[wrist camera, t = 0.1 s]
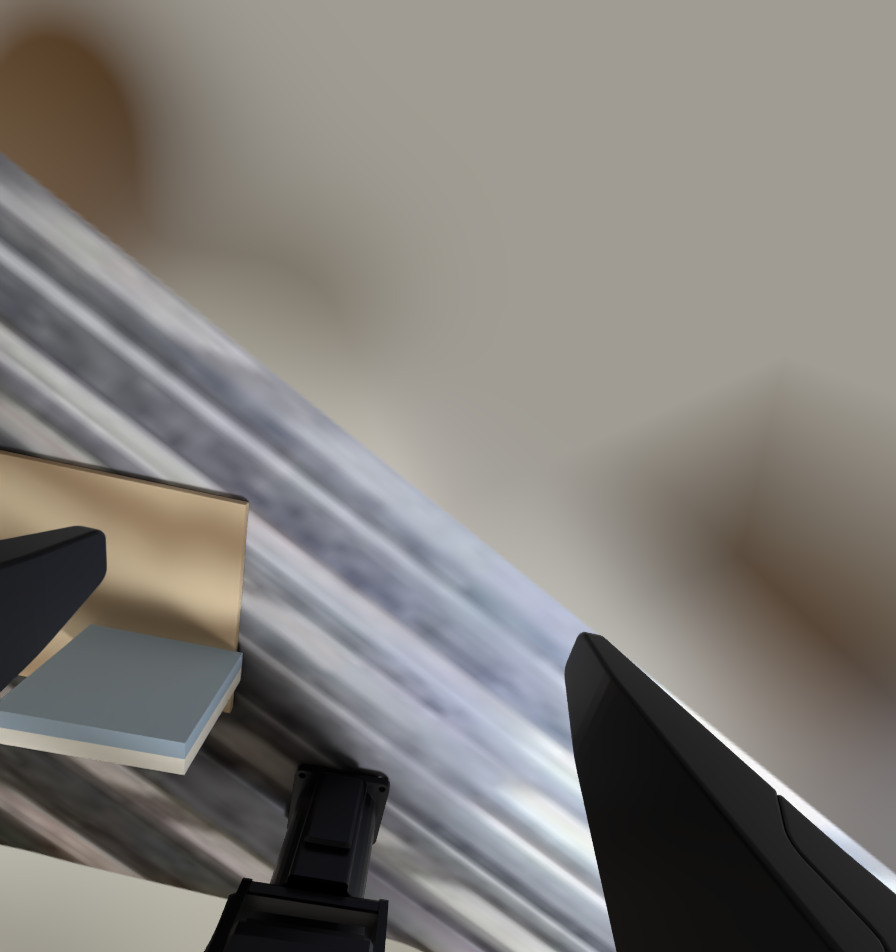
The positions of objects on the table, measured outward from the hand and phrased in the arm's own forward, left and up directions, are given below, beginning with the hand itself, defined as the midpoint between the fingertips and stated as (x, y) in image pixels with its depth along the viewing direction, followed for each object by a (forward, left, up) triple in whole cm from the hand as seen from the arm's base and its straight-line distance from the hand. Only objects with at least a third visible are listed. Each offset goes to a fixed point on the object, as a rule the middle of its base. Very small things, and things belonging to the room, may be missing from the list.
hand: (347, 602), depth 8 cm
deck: (-17, +12, -14) cm, 25 cm away
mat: (-14, +19, -15) cm, 28 cm away
